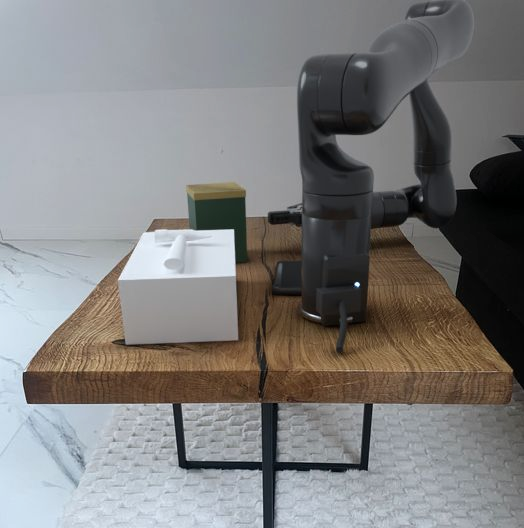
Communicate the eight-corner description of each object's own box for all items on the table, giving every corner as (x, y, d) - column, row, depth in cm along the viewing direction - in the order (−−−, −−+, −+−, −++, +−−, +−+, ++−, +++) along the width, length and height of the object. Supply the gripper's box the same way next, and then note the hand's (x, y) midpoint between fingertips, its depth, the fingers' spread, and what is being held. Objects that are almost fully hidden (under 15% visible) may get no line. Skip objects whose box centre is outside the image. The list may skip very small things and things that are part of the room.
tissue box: (236, 280, 100) (233, 214, 96) (238, 340, 78) (234, 257, 73) (149, 283, 100) (142, 217, 95) (125, 344, 77) (115, 261, 73)
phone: (272, 287, 93) (277, 260, 106) (272, 294, 93) (277, 266, 107) (323, 288, 92) (322, 260, 106) (323, 295, 93) (322, 266, 106)
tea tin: (248, 262, 110) (245, 189, 105) (198, 266, 108) (193, 193, 103) (237, 249, 119) (234, 182, 113) (190, 253, 117) (185, 185, 111)
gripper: (342, 186, 121) (259, 192, 117) (369, 198, 109) (278, 204, 106) (341, 223, 124) (260, 230, 120) (367, 238, 113) (278, 246, 109)
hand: (268, 218), depth 113 cm, fingers closed
